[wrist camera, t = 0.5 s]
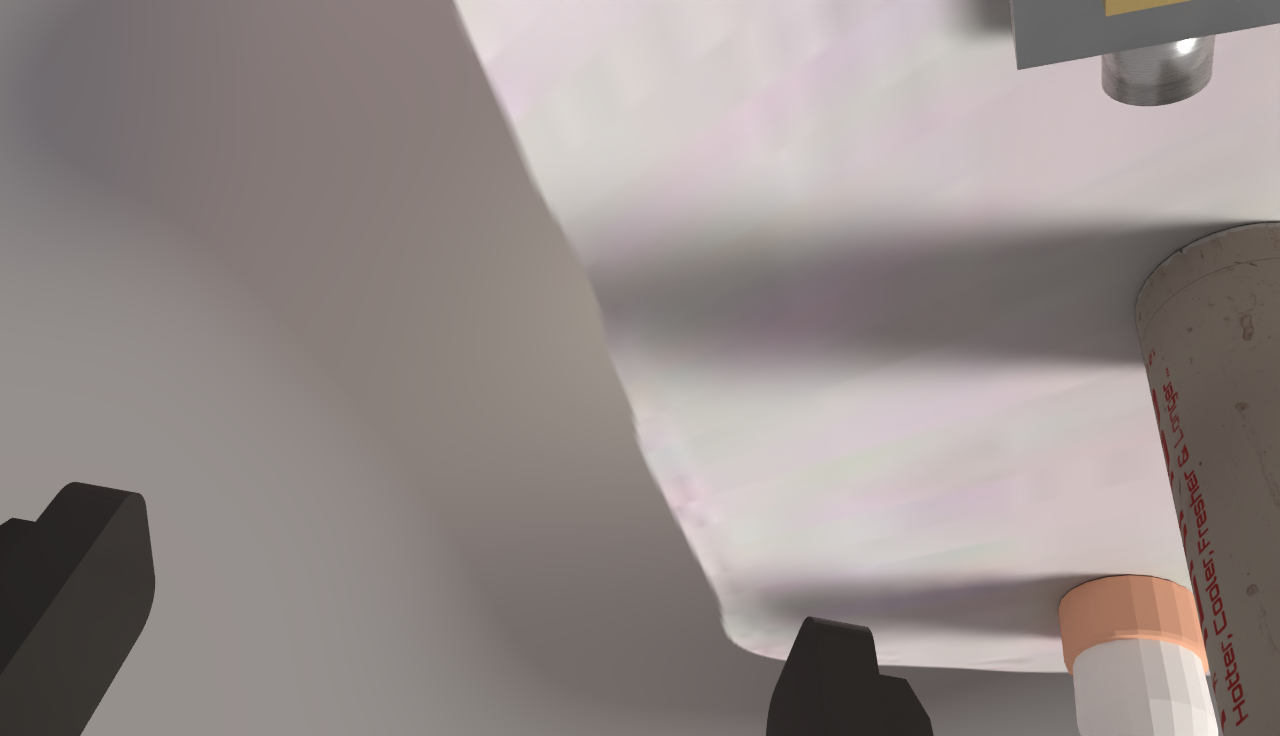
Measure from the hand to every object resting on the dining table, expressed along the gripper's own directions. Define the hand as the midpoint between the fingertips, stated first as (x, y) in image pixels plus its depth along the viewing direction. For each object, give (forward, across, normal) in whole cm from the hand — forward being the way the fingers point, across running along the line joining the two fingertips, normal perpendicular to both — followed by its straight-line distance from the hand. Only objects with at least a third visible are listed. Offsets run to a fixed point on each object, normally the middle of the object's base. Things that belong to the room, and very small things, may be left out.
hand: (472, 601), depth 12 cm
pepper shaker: (+33, -34, +29) cm, 55 cm away
